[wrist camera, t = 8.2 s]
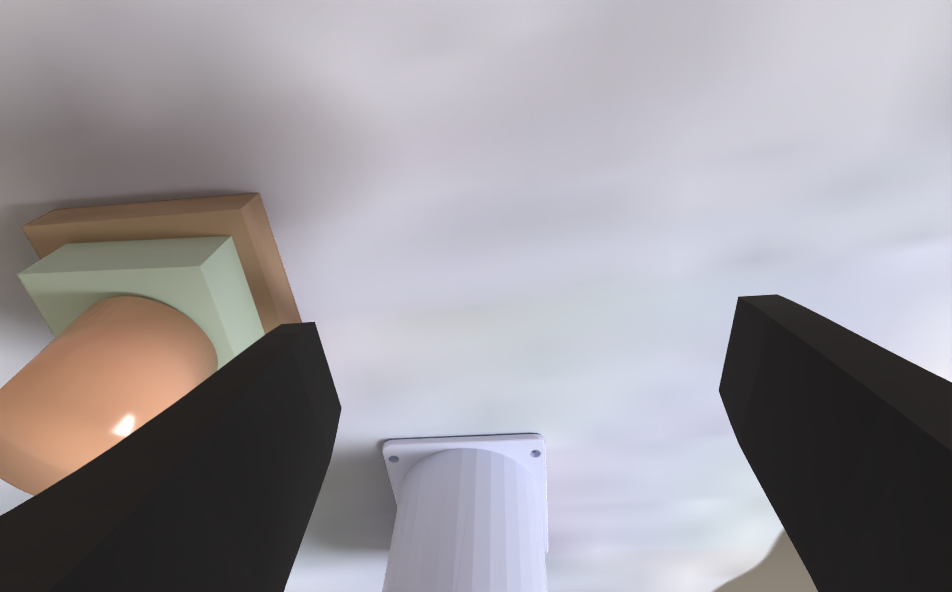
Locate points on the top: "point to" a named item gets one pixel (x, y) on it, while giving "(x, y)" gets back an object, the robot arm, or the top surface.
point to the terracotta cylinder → (97, 387)
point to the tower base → (184, 220)
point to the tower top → (151, 284)
